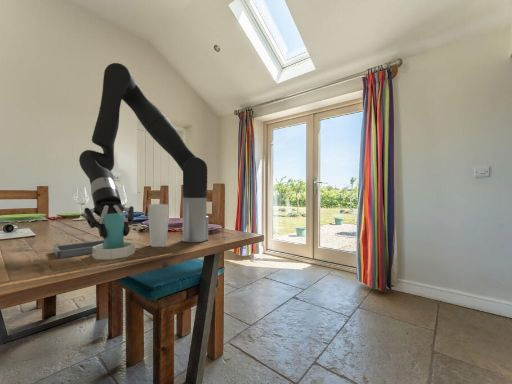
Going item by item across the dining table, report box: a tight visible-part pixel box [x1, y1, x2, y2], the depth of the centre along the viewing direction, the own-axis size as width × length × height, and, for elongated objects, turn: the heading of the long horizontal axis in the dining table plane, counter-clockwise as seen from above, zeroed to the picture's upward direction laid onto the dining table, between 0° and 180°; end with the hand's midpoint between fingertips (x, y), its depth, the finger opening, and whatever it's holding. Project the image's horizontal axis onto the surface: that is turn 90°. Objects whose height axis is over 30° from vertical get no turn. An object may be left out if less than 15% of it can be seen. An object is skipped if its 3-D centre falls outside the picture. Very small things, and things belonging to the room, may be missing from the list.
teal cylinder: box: [103, 212, 125, 249], centre depth 73 cm, size 5×5×11 cm
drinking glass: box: [147, 203, 170, 248], centre depth 86 cm, size 7×7×15 cm
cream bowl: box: [91, 241, 136, 260], centre depth 73 cm, size 10×10×3 cm
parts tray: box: [53, 239, 104, 259], centre depth 77 cm, size 15×9×2 cm, turn 135°
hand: (116, 235), depth 72 cm, fingers closed on teal cylinder, 5 cm apart
